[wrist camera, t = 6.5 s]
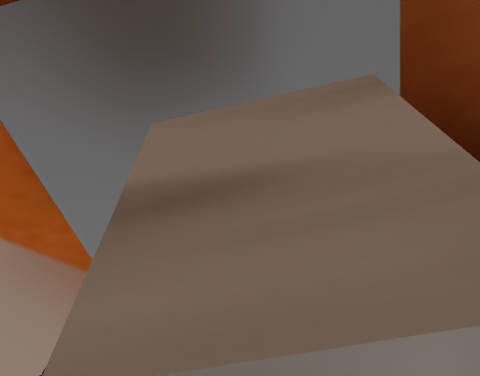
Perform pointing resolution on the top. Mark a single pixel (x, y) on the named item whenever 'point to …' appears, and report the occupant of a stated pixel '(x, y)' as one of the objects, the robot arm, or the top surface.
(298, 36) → the plinth
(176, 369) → the cream block
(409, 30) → the top surface
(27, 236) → the top surface
